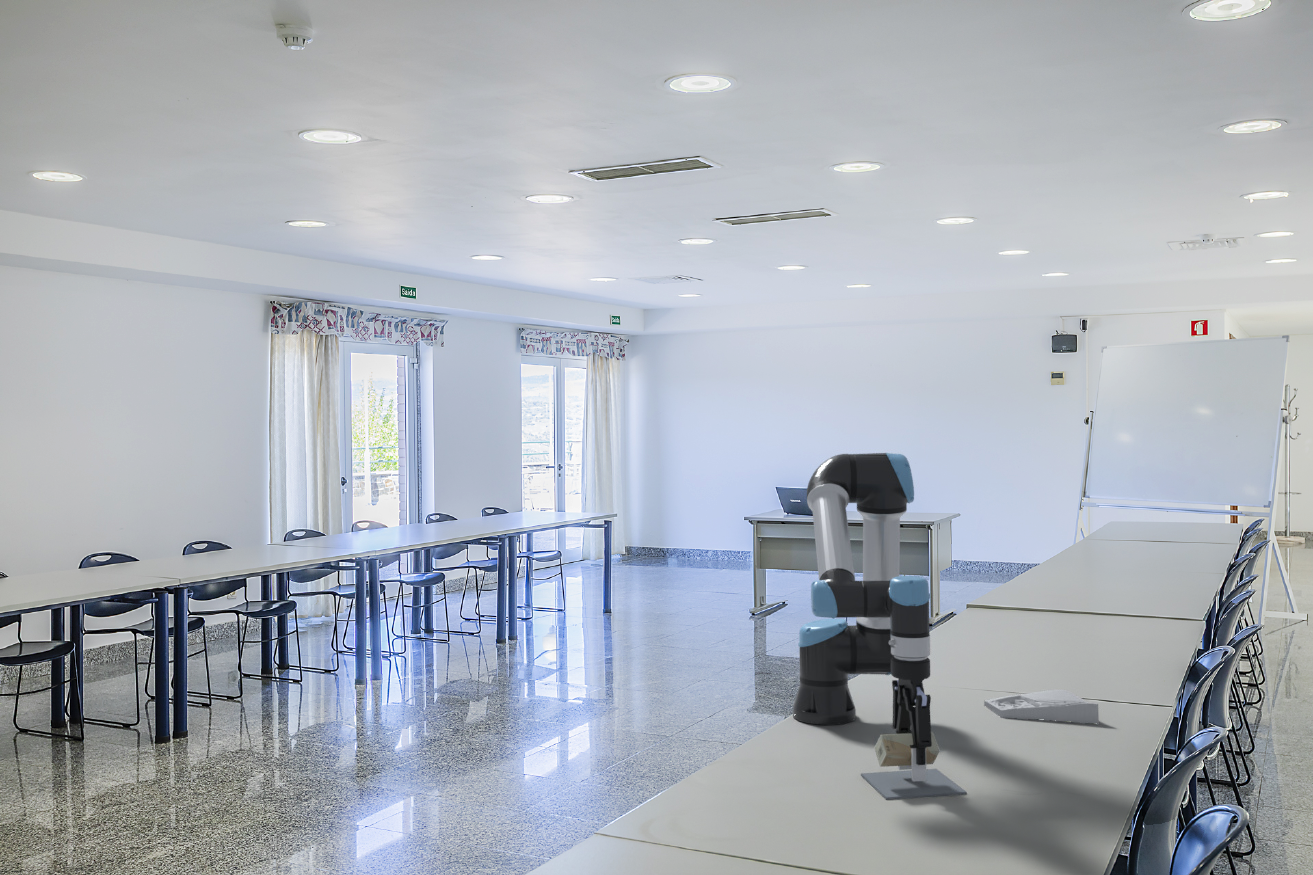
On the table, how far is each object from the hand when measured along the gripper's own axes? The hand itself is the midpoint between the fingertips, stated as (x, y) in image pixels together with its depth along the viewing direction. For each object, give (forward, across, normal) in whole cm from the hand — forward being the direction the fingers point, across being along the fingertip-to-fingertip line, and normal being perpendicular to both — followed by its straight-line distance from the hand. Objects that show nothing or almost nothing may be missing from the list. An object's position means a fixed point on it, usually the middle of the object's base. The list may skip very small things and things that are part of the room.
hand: (912, 774), depth 200 cm
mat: (+2, 0, 0) cm, 2 cm away
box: (-5, 0, -7) cm, 8 cm away
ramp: (+3, -42, +50) cm, 65 cm away
